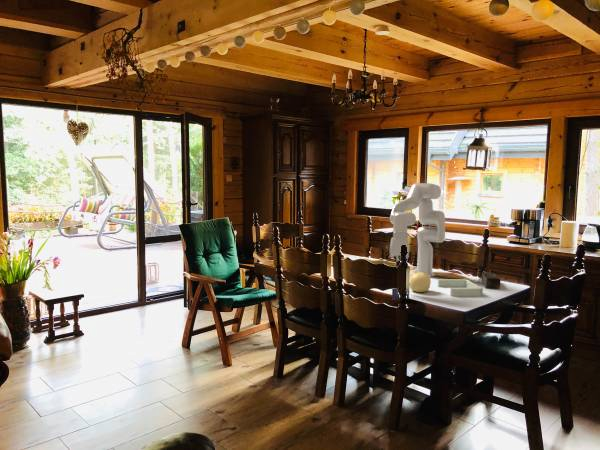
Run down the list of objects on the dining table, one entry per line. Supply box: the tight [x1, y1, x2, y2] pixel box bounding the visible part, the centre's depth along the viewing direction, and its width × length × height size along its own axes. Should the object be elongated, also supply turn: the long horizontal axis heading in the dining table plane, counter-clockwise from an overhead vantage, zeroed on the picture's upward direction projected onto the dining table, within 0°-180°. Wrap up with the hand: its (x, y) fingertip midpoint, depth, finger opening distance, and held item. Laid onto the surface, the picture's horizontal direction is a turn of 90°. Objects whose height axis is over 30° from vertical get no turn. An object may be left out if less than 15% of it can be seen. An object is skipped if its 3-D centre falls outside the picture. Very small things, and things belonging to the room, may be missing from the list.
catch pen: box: [437, 278, 484, 297], centre depth 274 cm, size 22×17×4 cm
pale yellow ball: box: [408, 272, 432, 293], centre depth 272 cm, size 11×12×11 cm
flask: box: [391, 288, 410, 301], centre depth 255 cm, size 9×3×11 cm, turn 96°
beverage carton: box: [480, 271, 501, 290], centre depth 287 cm, size 8×19×7 cm, turn 167°
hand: (398, 268), depth 271 cm, fingers closed
